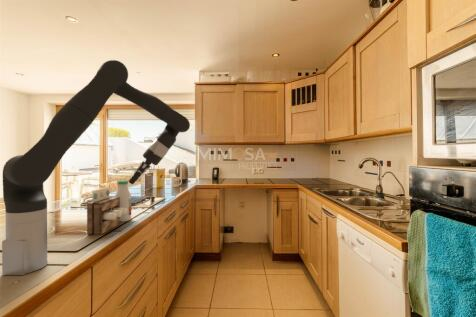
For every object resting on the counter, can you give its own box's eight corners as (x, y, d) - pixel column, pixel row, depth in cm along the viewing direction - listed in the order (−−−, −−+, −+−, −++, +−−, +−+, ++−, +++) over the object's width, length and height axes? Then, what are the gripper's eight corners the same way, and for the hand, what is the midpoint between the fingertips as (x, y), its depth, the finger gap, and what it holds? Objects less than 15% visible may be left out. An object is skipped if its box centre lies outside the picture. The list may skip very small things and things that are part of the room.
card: (94, 202, 103) (94, 190, 103) (92, 202, 103) (92, 190, 103) (109, 197, 115) (109, 186, 115) (108, 197, 115) (108, 186, 115)
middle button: (118, 217, 107) (118, 210, 107) (107, 217, 107) (107, 210, 107) (122, 215, 110) (122, 209, 110) (111, 215, 110) (111, 209, 110)
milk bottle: (125, 222, 119) (125, 181, 119) (111, 221, 120) (111, 181, 120) (134, 218, 127) (134, 180, 126) (120, 217, 128) (120, 179, 127)
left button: (112, 220, 102) (112, 213, 102) (101, 220, 103) (101, 213, 102) (116, 218, 105) (116, 211, 105) (105, 218, 106) (105, 211, 105)
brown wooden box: (100, 234, 101) (100, 203, 101) (87, 234, 102) (87, 203, 101) (119, 224, 116) (119, 197, 116) (107, 223, 117) (107, 196, 116)
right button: (124, 215, 112) (124, 208, 112) (113, 214, 112) (113, 208, 112) (127, 213, 115) (127, 207, 115) (116, 213, 115) (116, 206, 115)
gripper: (150, 146, 113) (128, 173, 112) (147, 147, 99) (121, 178, 98) (164, 156, 115) (142, 183, 113) (162, 158, 101) (137, 189, 100)
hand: (132, 181), depth 106 cm, fingers open, 8 cm apart
